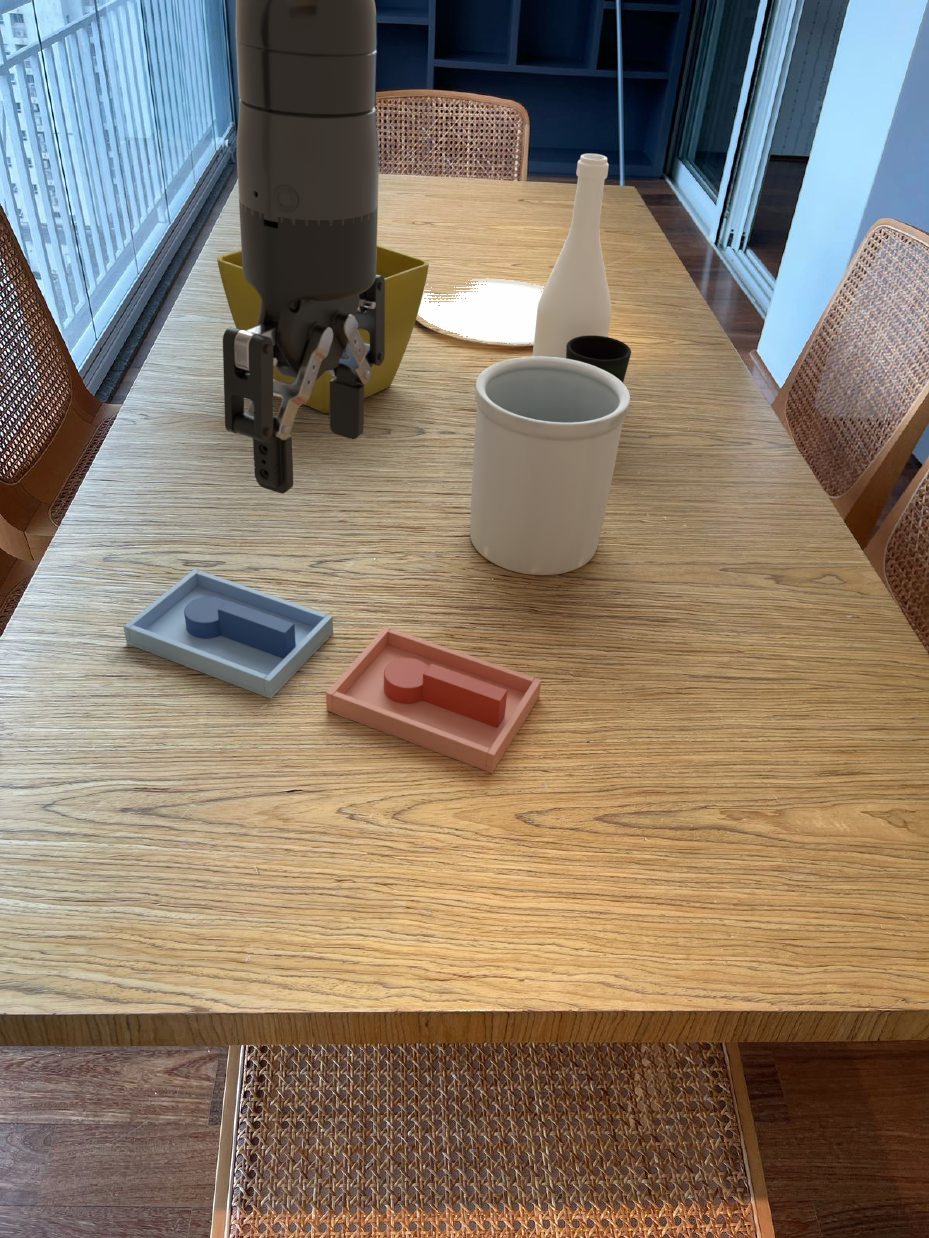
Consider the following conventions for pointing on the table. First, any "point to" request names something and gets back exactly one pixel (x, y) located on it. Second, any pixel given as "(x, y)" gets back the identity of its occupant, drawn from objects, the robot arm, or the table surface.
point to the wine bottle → (577, 271)
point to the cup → (600, 353)
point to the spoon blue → (239, 625)
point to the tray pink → (426, 722)
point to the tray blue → (221, 656)
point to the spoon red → (444, 690)
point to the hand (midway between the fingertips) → (312, 460)
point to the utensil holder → (543, 461)
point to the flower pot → (400, 315)
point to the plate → (487, 312)
